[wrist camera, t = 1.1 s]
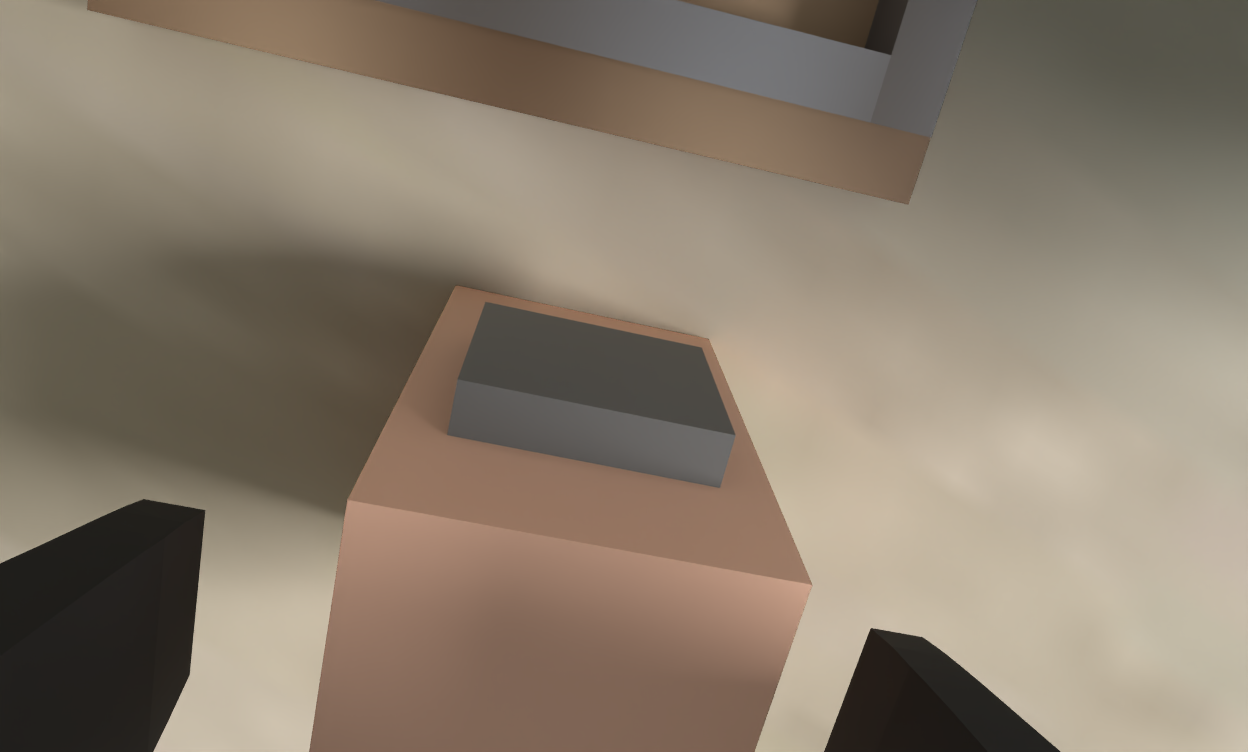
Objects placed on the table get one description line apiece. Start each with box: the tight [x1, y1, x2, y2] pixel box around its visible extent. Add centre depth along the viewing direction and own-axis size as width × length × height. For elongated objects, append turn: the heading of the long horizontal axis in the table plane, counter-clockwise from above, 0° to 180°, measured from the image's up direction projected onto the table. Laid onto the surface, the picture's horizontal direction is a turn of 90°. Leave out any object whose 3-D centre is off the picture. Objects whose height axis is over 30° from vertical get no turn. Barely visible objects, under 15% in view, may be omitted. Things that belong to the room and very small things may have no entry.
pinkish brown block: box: [309, 285, 812, 752], centre depth 12 cm, size 4×5×7 cm
